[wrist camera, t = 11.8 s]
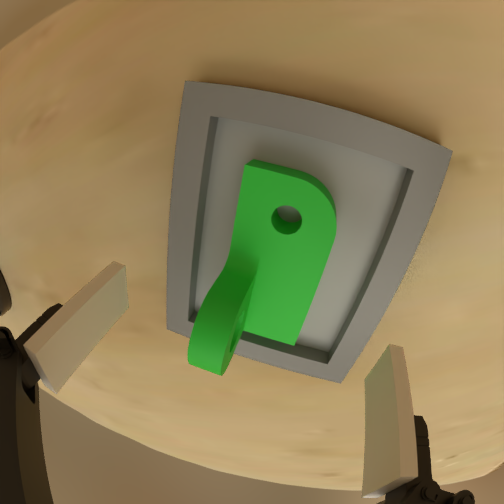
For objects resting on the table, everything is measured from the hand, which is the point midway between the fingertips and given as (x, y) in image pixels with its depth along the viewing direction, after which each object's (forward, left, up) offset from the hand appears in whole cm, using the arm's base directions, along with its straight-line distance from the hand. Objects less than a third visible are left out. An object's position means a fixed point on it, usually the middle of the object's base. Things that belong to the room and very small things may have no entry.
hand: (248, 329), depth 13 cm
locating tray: (0, 0, -9) cm, 9 cm away
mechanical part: (0, 0, -8) cm, 8 cm away
